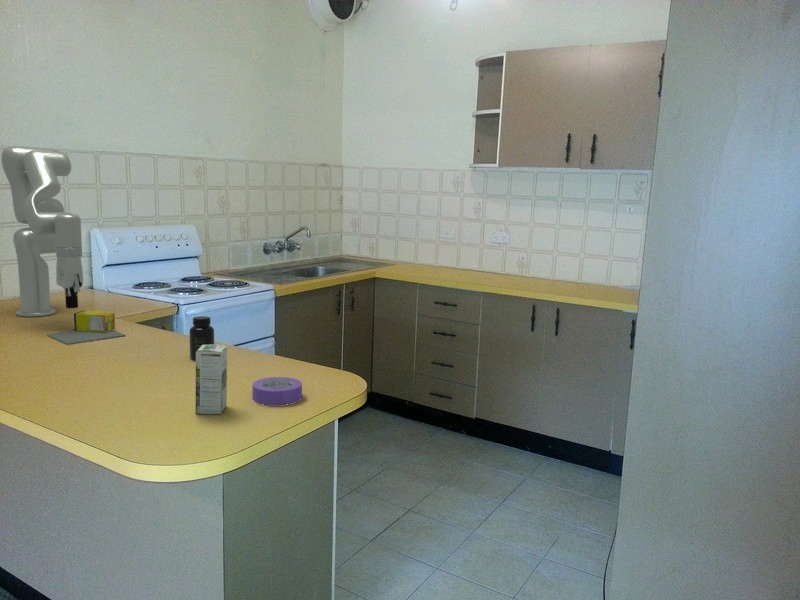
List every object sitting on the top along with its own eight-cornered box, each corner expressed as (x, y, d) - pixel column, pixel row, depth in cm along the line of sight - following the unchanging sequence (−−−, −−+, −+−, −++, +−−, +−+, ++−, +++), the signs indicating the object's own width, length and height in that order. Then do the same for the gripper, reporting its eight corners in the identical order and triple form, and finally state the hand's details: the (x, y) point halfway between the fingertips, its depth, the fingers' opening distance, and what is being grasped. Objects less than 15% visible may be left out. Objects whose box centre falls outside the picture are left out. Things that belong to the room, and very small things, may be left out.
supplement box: (84, 327, 210) (115, 329, 209) (73, 330, 204) (105, 333, 204) (84, 309, 209) (115, 312, 208) (73, 313, 203) (105, 315, 203)
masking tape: (256, 390, 155) (256, 375, 154) (303, 391, 156) (303, 376, 155) (248, 406, 143) (248, 390, 143) (299, 407, 144) (299, 391, 144)
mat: (46, 335, 199) (46, 334, 199) (103, 327, 212) (103, 326, 212) (67, 344, 189) (67, 343, 188) (125, 336, 202) (125, 334, 202)
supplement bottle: (219, 357, 182) (219, 317, 180) (203, 362, 176) (202, 321, 174) (201, 353, 185) (200, 314, 183) (184, 358, 179) (183, 318, 177)
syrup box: (201, 405, 142) (200, 343, 139) (227, 406, 142) (227, 344, 140) (195, 414, 136) (194, 350, 134) (222, 414, 137) (222, 350, 134)
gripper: (47, 250, 204) (50, 305, 207) (66, 255, 195) (69, 312, 198) (71, 249, 210) (74, 303, 213) (91, 254, 200) (93, 309, 203)
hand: (72, 307), depth 205 cm, fingers closed
